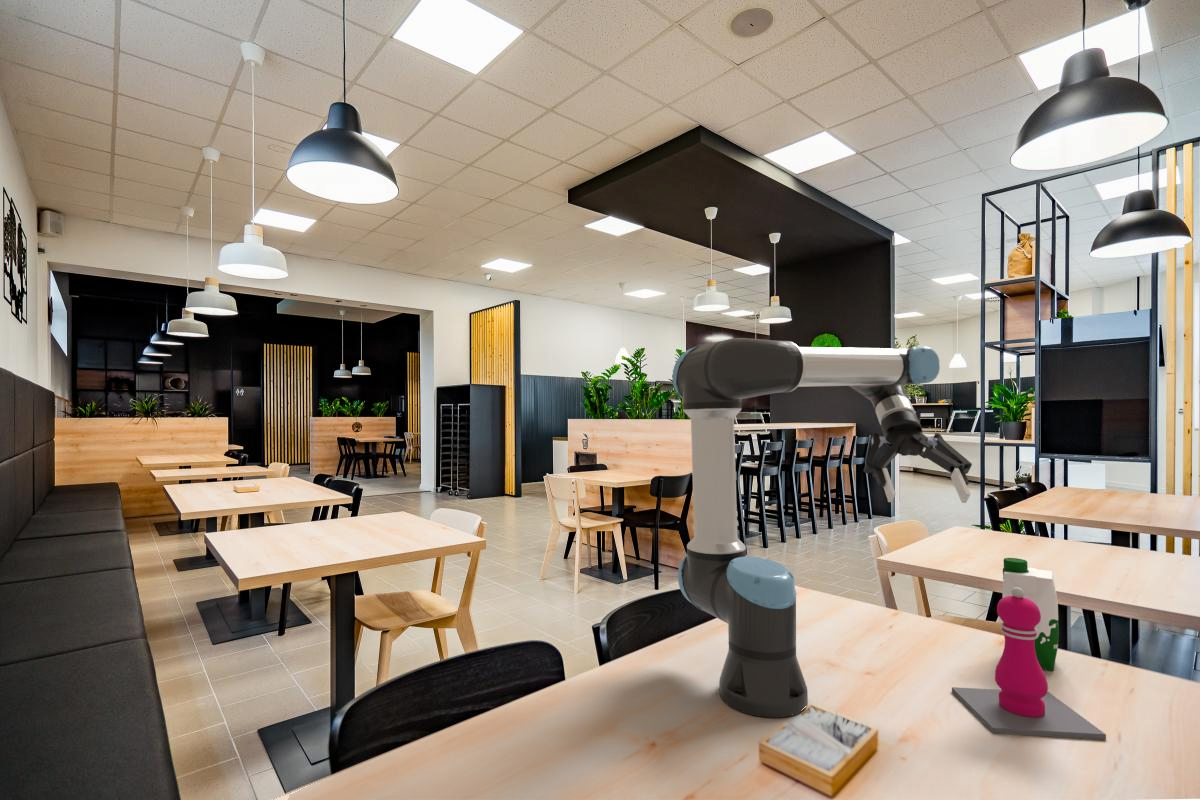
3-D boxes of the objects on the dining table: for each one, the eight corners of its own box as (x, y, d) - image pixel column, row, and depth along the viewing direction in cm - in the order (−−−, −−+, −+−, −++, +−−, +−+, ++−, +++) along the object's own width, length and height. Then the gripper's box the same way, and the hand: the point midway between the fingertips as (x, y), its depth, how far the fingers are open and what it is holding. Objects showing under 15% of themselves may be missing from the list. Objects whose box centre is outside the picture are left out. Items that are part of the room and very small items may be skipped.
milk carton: (1005, 649, 125) (1002, 554, 125) (1059, 659, 119) (1056, 560, 120) (1003, 662, 118) (1000, 562, 118) (1060, 674, 112) (1056, 569, 113)
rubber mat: (993, 733, 92) (993, 727, 92) (951, 691, 105) (951, 687, 105) (1106, 739, 89) (1105, 734, 89) (1048, 696, 103) (1048, 691, 103)
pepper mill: (1060, 719, 94) (1055, 593, 95) (1014, 719, 94) (1010, 593, 95) (1028, 698, 101) (1024, 581, 102) (985, 698, 101) (982, 581, 102)
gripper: (953, 432, 130) (991, 510, 115) (836, 433, 134) (857, 509, 118) (964, 408, 125) (1005, 486, 110) (842, 409, 129) (865, 485, 113)
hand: (928, 498), depth 114 cm, fingers open, 13 cm apart
